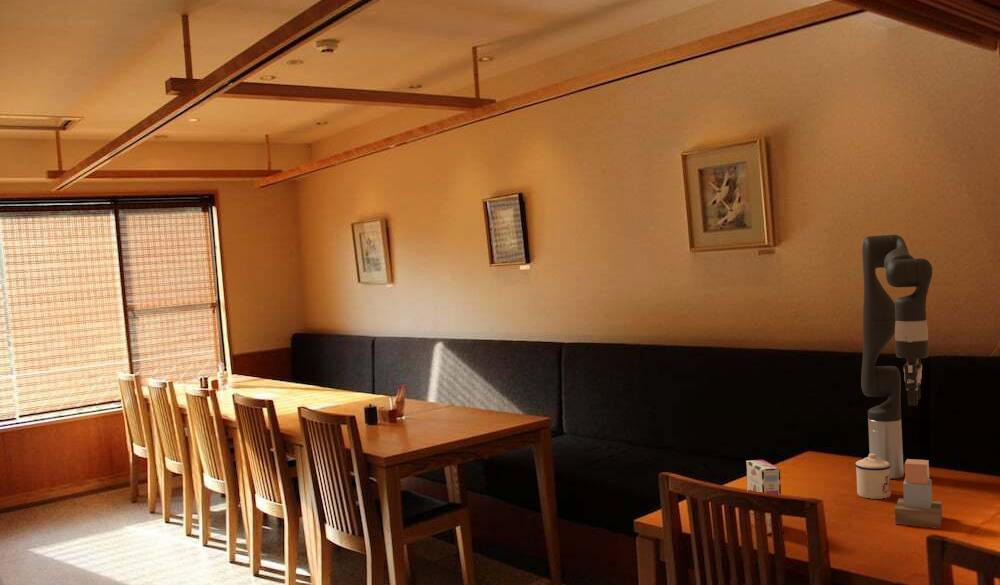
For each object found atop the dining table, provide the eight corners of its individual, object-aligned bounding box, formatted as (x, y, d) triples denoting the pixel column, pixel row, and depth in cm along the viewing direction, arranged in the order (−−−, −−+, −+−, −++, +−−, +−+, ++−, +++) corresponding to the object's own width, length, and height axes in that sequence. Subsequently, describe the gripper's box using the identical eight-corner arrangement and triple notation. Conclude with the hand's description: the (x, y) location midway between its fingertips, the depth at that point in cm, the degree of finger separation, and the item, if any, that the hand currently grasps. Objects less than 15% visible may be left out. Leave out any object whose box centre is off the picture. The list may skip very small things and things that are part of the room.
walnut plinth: (899, 513, 226) (898, 498, 226) (942, 517, 221) (941, 501, 221) (895, 524, 217) (894, 508, 217) (940, 528, 212) (939, 512, 212)
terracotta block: (907, 478, 222) (906, 458, 222) (929, 479, 220) (928, 460, 219) (905, 483, 218) (904, 463, 218) (927, 484, 215) (926, 464, 215)
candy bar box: (784, 533, 215) (781, 468, 214) (764, 535, 215) (761, 469, 214) (766, 520, 226) (763, 458, 226) (747, 522, 226) (744, 459, 225)
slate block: (906, 500, 223) (905, 477, 223) (932, 502, 220) (931, 479, 220) (904, 507, 218) (903, 483, 218) (930, 509, 215) (929, 485, 215)
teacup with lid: (890, 500, 237) (888, 458, 237) (855, 498, 241) (853, 457, 241) (893, 489, 248) (891, 449, 247) (858, 487, 252) (857, 447, 251)
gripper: (898, 335, 225) (900, 397, 226) (892, 341, 213) (895, 406, 214) (930, 335, 222) (932, 398, 222) (926, 341, 209) (928, 408, 210)
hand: (914, 402), depth 218 cm, fingers open, 8 cm apart
